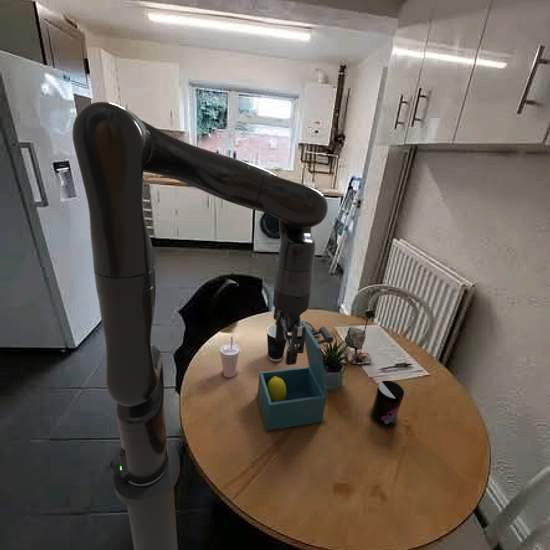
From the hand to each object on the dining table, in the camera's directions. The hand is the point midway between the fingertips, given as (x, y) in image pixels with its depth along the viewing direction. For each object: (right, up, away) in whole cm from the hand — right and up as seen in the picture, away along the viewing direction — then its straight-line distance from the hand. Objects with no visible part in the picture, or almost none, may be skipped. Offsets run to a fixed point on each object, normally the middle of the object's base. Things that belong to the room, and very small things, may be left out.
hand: (284, 351), depth 69 cm
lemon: (-1, -20, +18) cm, 27 cm away
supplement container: (+29, -24, +19) cm, 42 cm away
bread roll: (+10, -6, +57) cm, 58 cm away
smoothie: (-17, -15, +31) cm, 38 cm away
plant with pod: (+27, -13, +44) cm, 53 cm away
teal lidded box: (+2, -21, +20) cm, 29 cm away
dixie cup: (-2, -12, +40) cm, 42 cm away
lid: (+8, -5, +14) cm, 17 cm away
